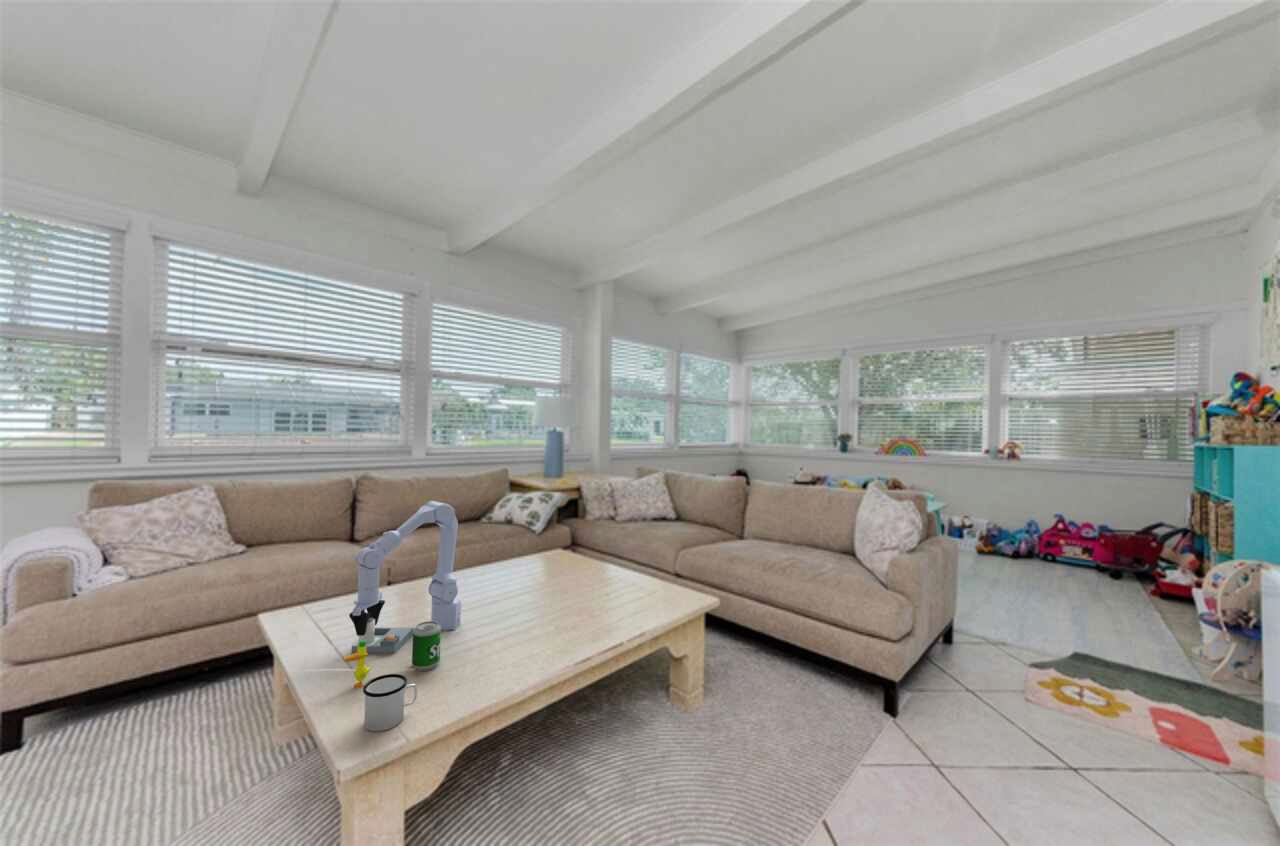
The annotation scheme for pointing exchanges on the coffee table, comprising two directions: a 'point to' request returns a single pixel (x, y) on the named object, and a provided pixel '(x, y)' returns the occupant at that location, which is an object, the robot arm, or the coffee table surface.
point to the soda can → (426, 646)
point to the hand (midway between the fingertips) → (367, 629)
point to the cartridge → (369, 632)
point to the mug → (385, 701)
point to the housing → (386, 646)
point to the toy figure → (359, 663)
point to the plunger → (390, 638)
